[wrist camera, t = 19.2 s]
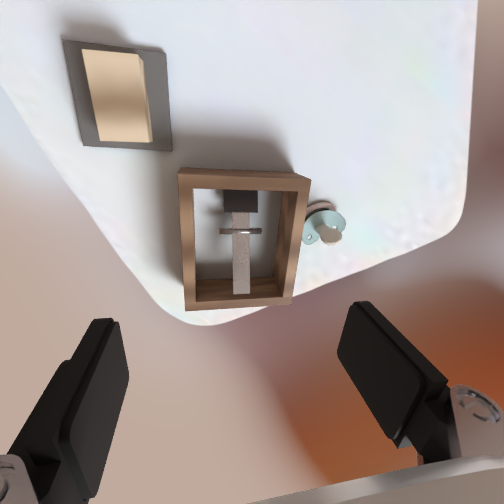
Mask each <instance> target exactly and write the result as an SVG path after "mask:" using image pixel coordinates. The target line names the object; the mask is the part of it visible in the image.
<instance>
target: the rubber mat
mask: <svg viewBox="0 0 504 504" xmlns="http://www.w3.org/2000/svg"><path fill="white" fill-rule="evenodd" d="M62 40H63V39H62ZM63 45H64V50H65V55H66V60H67V65H68V70H69V75H70V80H71V85H72V90H73V95H74V100H75V105H76V110H77V115H78V120H79V125H80V130H81V135H82V140H83V145H84V146H93V147H110V148H127V149H144V150H161V151H172V141H171V124H170V108H169V92H168V76H167V60H166V53H161V52H153V51H146V50H138V49H131V48H123V47H116V46H108V45H101V44H93V43H85V42H78V41H70V40H63ZM82 49H87V50H98V51H108V52H119V53H130V54H138V55H139V57H140V58H141V59H142V60H143V62H144V70H145V78H146V87H147V95H148V103H149V112H150V120H151V128H152V136H153V142H118V141H100V138H99V133H98V128H97V123H96V118H95V113H94V108H93V103H92V98H91V93H90V88H89V83H88V78H87V74H86V69H85V64H84V59H83V54H82Z"/></svg>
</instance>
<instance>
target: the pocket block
mask: <svg viewBox="0 0 504 504" xmlns="http://www.w3.org/2000/svg"><path fill="white" fill-rule="evenodd" d="M310 185H311V179H308V178H306V177H304V176H301V175H299V174H297V173H290V172H268V171H247V170H225V169H204V168H182V167H181V168H180V170H179V172H178V190H179V208H180V226H181V244H182V262H183V280H184V298H185V311H198V310H213V309H229V308H244V307H260V306H274V305H290V304H291V301H292V295H293V289H294V283H295V277H296V271H297V265H298V258H299V252H300V246H301V240H302V234H303V228H304V222H305V216H306V209H307V203H308V197H309V191H310ZM193 188H199V189H232V190H264V191H283V194H282V203H281V211H280V219H279V228H278V236H277V245H276V253H275V261H274V270H273V277H257V278H250V293H249V294H233V278H232V279H208V280H196V262H195V229H194V197H193Z"/></svg>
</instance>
